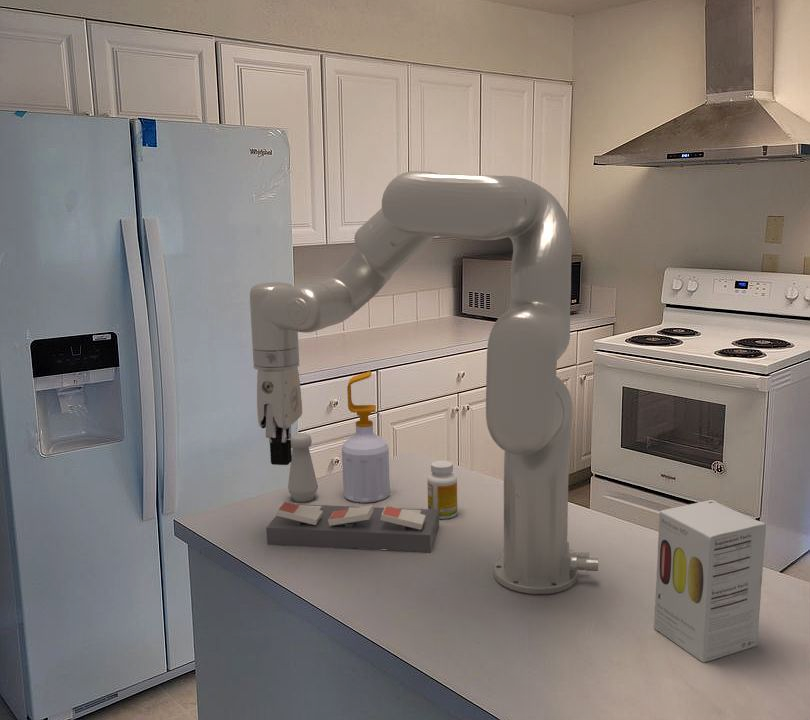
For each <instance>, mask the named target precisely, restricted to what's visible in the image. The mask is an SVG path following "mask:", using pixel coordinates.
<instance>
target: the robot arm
mask: <svg viewBox="0 0 810 720" xmlns="http://www.w3.org/2000/svg"><path fill="white" fill-rule="evenodd" d="M436 237H437V238H447V239H448V238H450V239H465V240H477V241H494V240H495V241H496V240H497V241H498V240H501V239H505V238H509V239H510V240H511V243H512V250H513V252H512V257H511V263H510V273H509V274H510V275H509V276H510V291H509V294H510V295H509V306H508V310H506V311H505V312H504V313H502V314H501V315H500V316H499V317H498V318H497V320H495V322H494V324H493V325H492V328H491V330H490V333H489V337H488V340H487V348H486V349H487V350H486V381H485V382H486V383H485V386H486V387H485V388H486V389H485V421H486V426H487V429H488V432H489V435H490V437H491V439H492V440H493V441H494V443H495V444H496V446H498V447H499V448H500V449H501V450H503V451H504V453H503V454H504V456H503V556H502V557H501V558H499V559H498V560H496V562H495V563H494V565H493V577H494V578H495V580H496V582H498V583H499V585H501V586H503V587H505V588H506V589H510V590H512V591H515V592H519V593H524V594H531V595H546V594H547V595H549V594H554V593H555V594H556V593H559V592H563V591H565V590H568V589H570V588H571V587H572V586H574V584H575V583H576V582H577V579H578V571H586V572H599V557H590V552H583V551H582V552H581V551H580V552H577V551H575V552H574V550H572V549H571V550H570V542H569V541H568V525H569V524H568V519H569V517H568V516H569V513H568V512H569V507H568V506H569V475H570V474H569V472H570V470H569V469H570V467H569V466H570V465H569V463H570V445H571V433H572V424H573V400H572V397H571V394H570V391H569V389H568V387H567V385H566V384H565V382H564V381H563V380H562V379H560V377H558V376H557V371H558V370H557V367H558V360H559V359H560V358H561V357H562V356H563V355H564V353H565V352H566V351H567V350H568V349H567V348H568V346H569V344H570V339H571V303H572V302H571V300H572V299H571V297H572V247H573V246H572V245H573V244H572V233H571V227H570V223H569V219H568V217H567V215H566V213H565V210H564V209H563V207H562V205H561V203H560V202H559V201H558V200H557V198H556V197H555V196H554V195H553V194H552V193H550V192H549V191H548V190H547V189H546V188H544V187H542V186H541V185H539V184H538V183H535V182H534V181H531V180H529V179H527V178H523V177H521V176H519V177H518V176H513V175H486V174H485V175H483V174H482V175H481V174H480V175H479V174H454V173H453V174H451V173H449V174H447V173H446V174H445V173H439V172H433V171H420V170H419V171H418V170H413V171H406V172H403V173H401V174H399V175H397V176H396V177H394V178H393V179H392V180H390V181H389V183H388V185H387V186H386V187H385V190H384V192H383V195H382V199H381V208H380V209H379V210H378V211H377V212H376V213H375V214H373V215H372V216H371V217H370V218H369V219H368V220H366V222H364V223H363V224H362V225H361V226H360V227H359V228H358V229H357V230H356V232H355V234H354V244H355V245H354V246H355V250H354V252H353V253H352V255H351V256H350V257H349V258H348V259H347V260H346V261H345V262H344V264H342V265H341V266H340V267H339V268H337V270H336V271H334V272H333V273H332V274H331V275H330V276H329V277H327V278H326V279H324V280H320V281H315V282H314V281H313V282H310V283H306V284H302V285H297V286H293V284H290V283H287V282H279V281H278V282H262V283H261V282H260V283H257V284H255V285H253V286H252V287H251V289H250V291H249V305H250V308H249V309H250V324H251V325H250V326H251V343H252V345H251V346H252V359H253V360H252V361H253V368H254V369H255V370H257V372H256V374H257V375H256V408H257V411H256V412H257V421H258V426H259V427H260V428H261V429H265V438H266V439H268V442H269V451H270V452H269V453H270V454H269V455H270V464H272V465H275V466H276V465H277V466H288V465H290V464H291V461H292V448H291V440H289V439H290V438H291V436H292V425H293V424H295V423H296V422H297V421H298V420H299V419H300V418H301V417H302V415H303V403H302V400H303V399H302V392H301V391H302V390H301V381H300V372H299V369H298V368H299V366H300V350H299V348H300V347H299V333H307V334H308V333H314V332H317V331H320V330H323V329H325V328H329V327H331V326H335V325H338V324H341V323H343V322H345V321H346V320H347V319H349V318H351V316H353V315H354V314H355V313H356V312H358V311H359V310H360V309H361V308H362V307H364V305H366V304H367V303H368V302H369V301H370V300H371V299H373V298H374V296H376V295H377V294H378V293H379V292H380V291H381V290H382V289H383V287H384V286H385V285H386V284H387V282H388V281H389V280H390V279H391V278H392V276H393V275H394V273H396V272H397V271H398V270H399V269H400V268H401V267H402V266H403V265H405V264H406V263H407V262H408V261H409V260H410V259H411V258H412V257H414V256H415V255H416V254H417V253H418V252H419V251H421V250H422V249H423V248H424V247H425V246H426V245H427V244H429V243H430V242H431V241H432V240H433V239H434V238H436Z"/></svg>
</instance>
